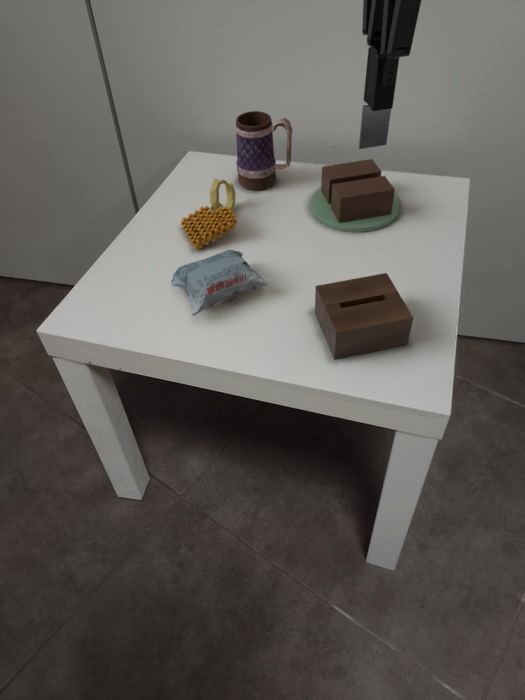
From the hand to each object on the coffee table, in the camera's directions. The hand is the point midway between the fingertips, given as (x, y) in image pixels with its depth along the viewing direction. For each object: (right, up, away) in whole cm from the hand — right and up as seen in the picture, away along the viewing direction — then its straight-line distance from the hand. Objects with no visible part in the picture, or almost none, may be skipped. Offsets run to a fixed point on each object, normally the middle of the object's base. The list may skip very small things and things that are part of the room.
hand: (377, 103), depth 72 cm
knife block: (-2, -30, +1) cm, 30 cm away
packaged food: (-21, -25, +8) cm, 33 cm away
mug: (-15, -2, +28) cm, 32 cm away
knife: (0, -4, +4) cm, 6 cm away
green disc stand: (0, -8, +21) cm, 23 cm away
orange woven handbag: (-23, -12, +19) cm, 32 cm away
